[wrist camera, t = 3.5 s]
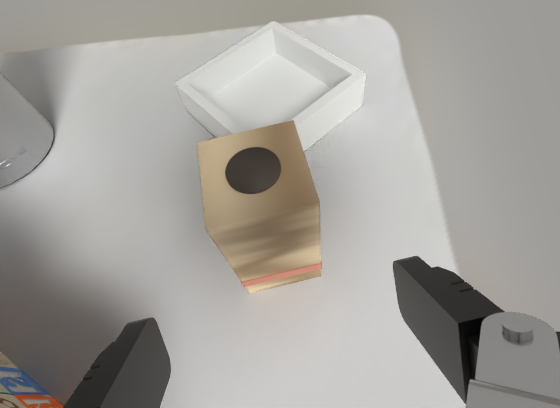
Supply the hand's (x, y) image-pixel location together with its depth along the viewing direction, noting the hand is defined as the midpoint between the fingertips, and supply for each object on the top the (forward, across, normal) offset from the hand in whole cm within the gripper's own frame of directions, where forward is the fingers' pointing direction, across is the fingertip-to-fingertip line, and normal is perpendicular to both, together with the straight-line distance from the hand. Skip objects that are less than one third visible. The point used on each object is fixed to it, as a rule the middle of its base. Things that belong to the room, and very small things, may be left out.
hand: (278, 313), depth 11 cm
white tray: (+23, -2, -7) cm, 24 cm away
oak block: (+13, 0, +3) cm, 13 cm away
